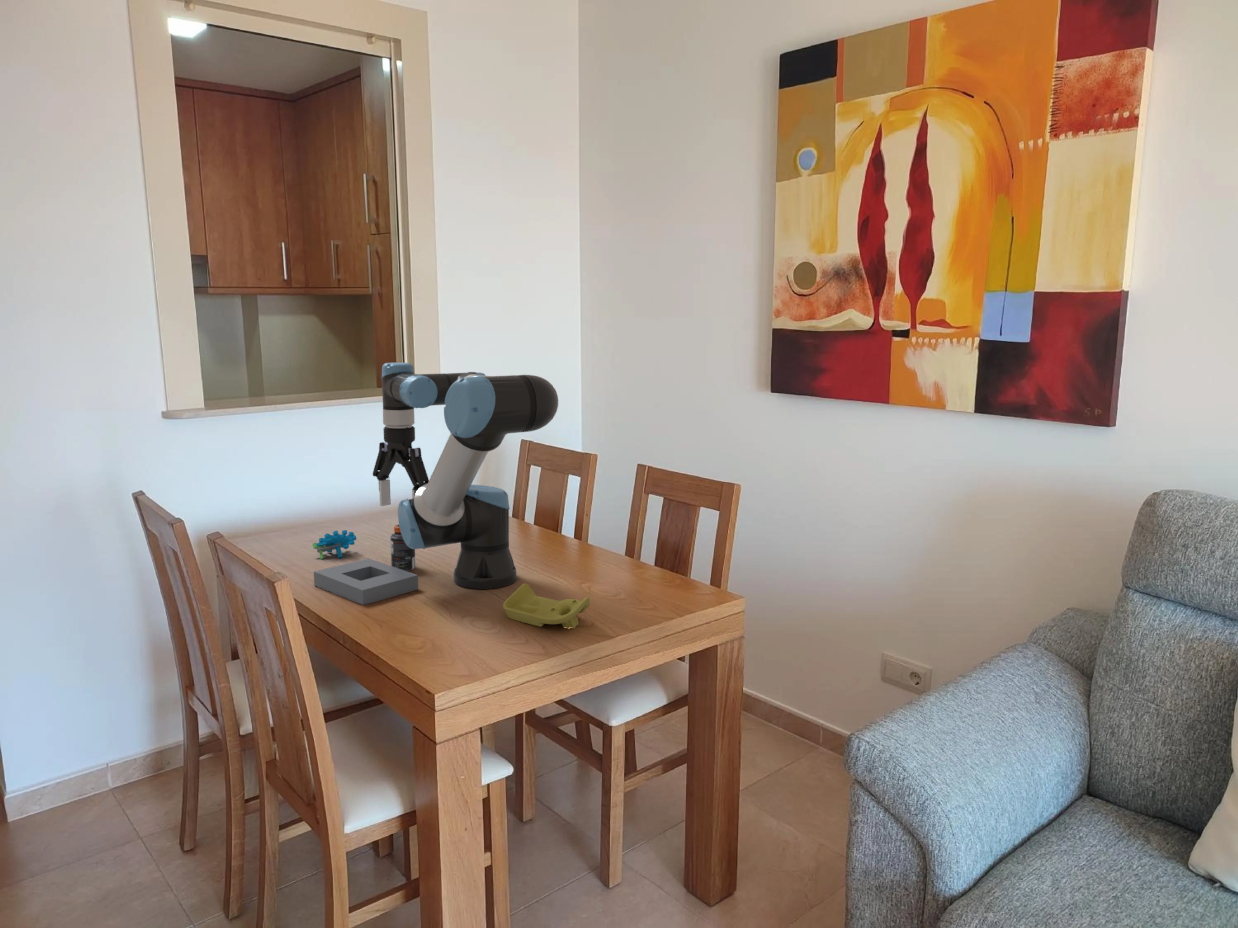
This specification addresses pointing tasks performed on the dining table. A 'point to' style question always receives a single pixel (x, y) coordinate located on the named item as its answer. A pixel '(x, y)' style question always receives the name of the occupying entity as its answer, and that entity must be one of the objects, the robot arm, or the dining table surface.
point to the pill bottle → (401, 552)
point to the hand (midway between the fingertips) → (401, 509)
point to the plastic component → (543, 608)
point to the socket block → (366, 581)
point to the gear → (334, 542)
